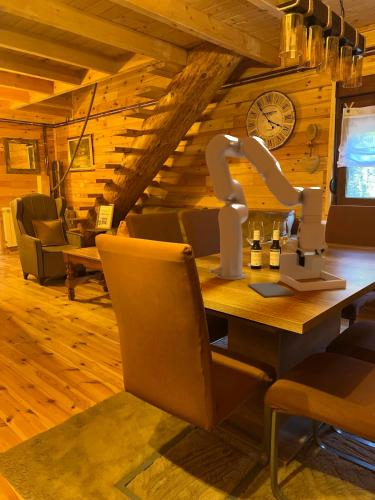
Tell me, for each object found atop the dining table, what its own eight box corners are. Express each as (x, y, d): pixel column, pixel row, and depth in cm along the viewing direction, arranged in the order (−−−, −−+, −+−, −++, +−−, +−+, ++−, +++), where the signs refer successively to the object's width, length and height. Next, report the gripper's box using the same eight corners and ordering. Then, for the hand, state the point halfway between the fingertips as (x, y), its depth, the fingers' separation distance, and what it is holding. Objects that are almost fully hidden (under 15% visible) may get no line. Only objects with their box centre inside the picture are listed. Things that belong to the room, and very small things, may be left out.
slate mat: (265, 297, 130) (265, 295, 130) (248, 285, 146) (248, 284, 146) (294, 295, 132) (294, 293, 132) (274, 283, 149) (274, 282, 148)
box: (311, 271, 140) (312, 258, 139) (296, 264, 151) (296, 252, 150) (325, 270, 141) (325, 257, 140) (308, 264, 152) (309, 252, 151)
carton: (300, 291, 136) (301, 262, 135) (279, 280, 153) (280, 254, 152) (346, 287, 140) (347, 259, 138) (320, 277, 157) (321, 251, 155)
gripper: (295, 221, 138) (293, 268, 141) (337, 220, 142) (334, 266, 145) (286, 219, 146) (284, 264, 149) (326, 218, 149) (323, 262, 152)
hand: (309, 265), depth 147 cm, fingers closed on box, 5 cm apart
